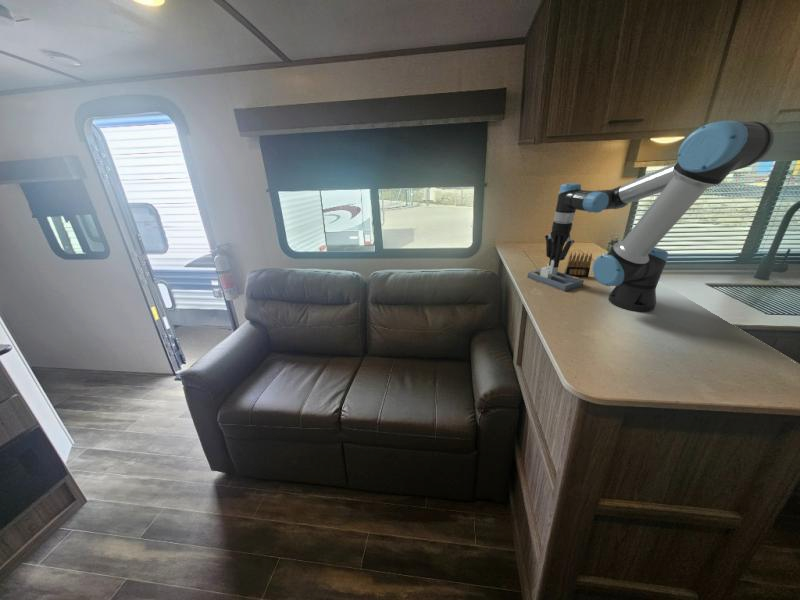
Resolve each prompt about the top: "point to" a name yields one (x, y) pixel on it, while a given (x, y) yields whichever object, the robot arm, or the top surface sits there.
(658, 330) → the top surface
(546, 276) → the tab
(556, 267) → the tab
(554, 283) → the switch bank
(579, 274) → the ammunition clip
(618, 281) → the robot arm
